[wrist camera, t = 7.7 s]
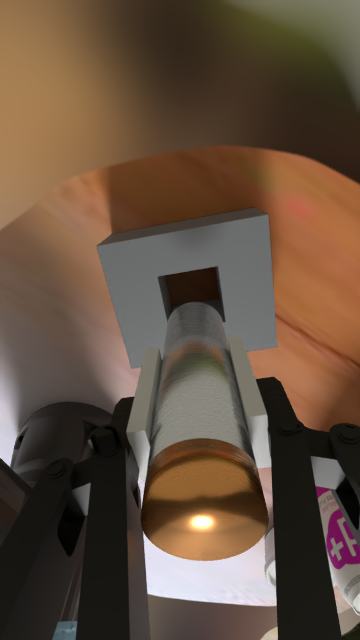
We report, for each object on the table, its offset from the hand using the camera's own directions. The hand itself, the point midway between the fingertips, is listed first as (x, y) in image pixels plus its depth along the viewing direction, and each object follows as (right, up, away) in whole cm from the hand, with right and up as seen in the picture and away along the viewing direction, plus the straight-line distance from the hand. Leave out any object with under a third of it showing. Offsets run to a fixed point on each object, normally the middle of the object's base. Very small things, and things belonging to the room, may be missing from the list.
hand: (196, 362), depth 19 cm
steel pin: (0, +2, +4) cm, 5 cm away
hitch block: (0, +7, +15) cm, 16 cm away
